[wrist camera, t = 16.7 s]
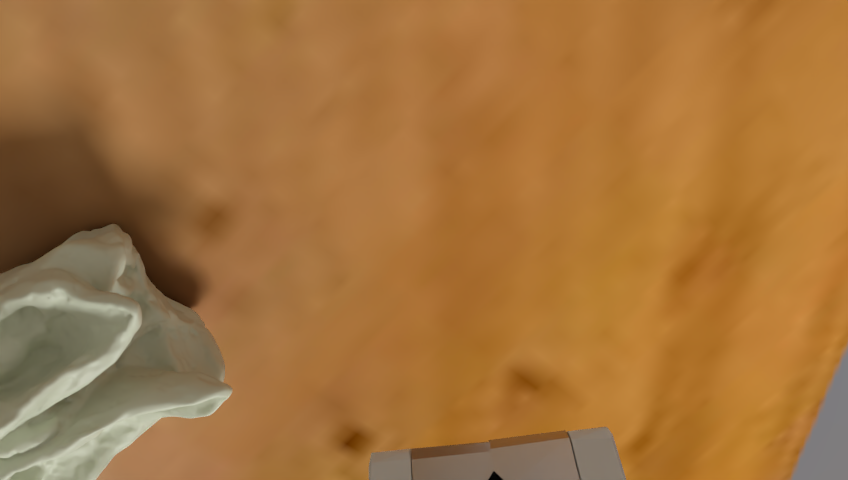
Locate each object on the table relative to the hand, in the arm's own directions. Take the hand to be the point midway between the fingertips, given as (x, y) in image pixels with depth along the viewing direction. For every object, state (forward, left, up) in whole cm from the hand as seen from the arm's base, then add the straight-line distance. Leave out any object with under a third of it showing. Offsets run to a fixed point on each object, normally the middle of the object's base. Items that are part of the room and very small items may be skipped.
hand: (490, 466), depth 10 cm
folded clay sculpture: (+20, -22, -29) cm, 41 cm away
